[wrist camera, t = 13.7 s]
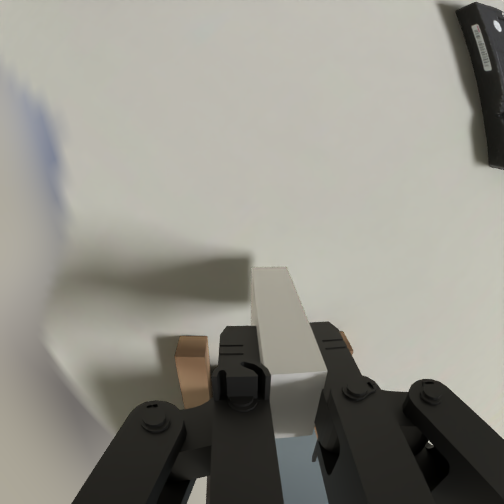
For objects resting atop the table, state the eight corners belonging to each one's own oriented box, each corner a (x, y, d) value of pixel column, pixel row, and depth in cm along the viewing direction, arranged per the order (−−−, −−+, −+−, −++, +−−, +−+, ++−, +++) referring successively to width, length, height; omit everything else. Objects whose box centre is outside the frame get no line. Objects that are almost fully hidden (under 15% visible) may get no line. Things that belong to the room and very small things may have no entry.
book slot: (179, 335, 16) (142, 507, 6) (343, 331, 16) (416, 482, 7) (204, 464, 20) (199, 566, 11) (310, 459, 21) (331, 557, 11)
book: (227, 363, 16) (227, 577, 5) (296, 361, 17) (347, 563, 5) (232, 446, 20) (236, 588, 8) (284, 444, 20) (306, 583, 8)
